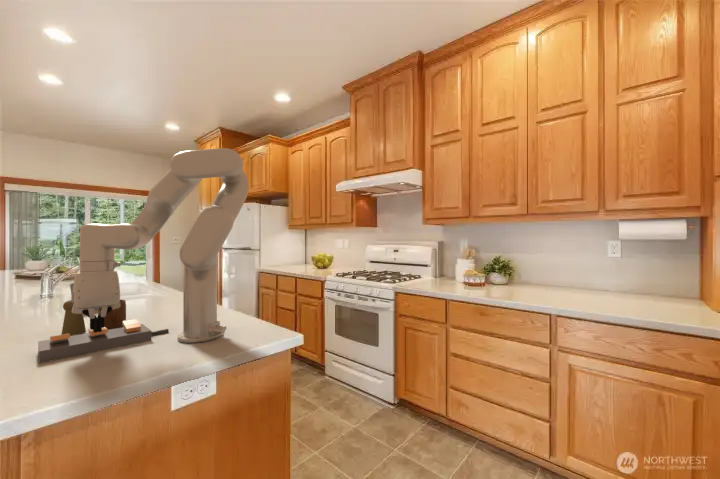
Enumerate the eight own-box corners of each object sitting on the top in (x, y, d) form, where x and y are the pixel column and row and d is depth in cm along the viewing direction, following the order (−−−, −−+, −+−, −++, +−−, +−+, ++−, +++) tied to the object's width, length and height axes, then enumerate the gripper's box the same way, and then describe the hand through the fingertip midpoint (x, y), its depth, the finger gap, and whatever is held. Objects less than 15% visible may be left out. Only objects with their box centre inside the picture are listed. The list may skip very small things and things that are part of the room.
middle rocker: (104, 332, 94) (104, 326, 94) (107, 335, 89) (107, 329, 90) (88, 335, 91) (88, 328, 91) (91, 338, 87) (91, 331, 87)
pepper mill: (71, 330, 105) (71, 298, 105) (90, 330, 106) (90, 298, 106) (55, 336, 99) (55, 302, 99) (76, 335, 100) (76, 301, 100)
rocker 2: (136, 324, 99) (136, 318, 99) (140, 331, 95) (141, 326, 95) (122, 326, 97) (122, 321, 97) (126, 334, 93) (126, 328, 93)
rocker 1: (68, 340, 88) (67, 333, 88) (69, 340, 84) (69, 333, 84) (50, 343, 85) (50, 336, 85) (51, 343, 81) (51, 336, 81)
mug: (130, 331, 105) (130, 303, 105) (101, 336, 100) (101, 306, 100) (123, 324, 113) (123, 298, 113) (96, 328, 108) (96, 301, 108)
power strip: (163, 329, 107) (163, 320, 107) (173, 335, 100) (173, 326, 100) (38, 352, 85) (38, 341, 85) (39, 363, 78) (39, 351, 78)
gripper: (126, 264, 96) (126, 323, 96) (59, 267, 85) (59, 334, 85) (132, 266, 91) (132, 328, 91) (62, 269, 80) (62, 340, 80)
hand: (97, 331), depth 88 cm, fingers closed
